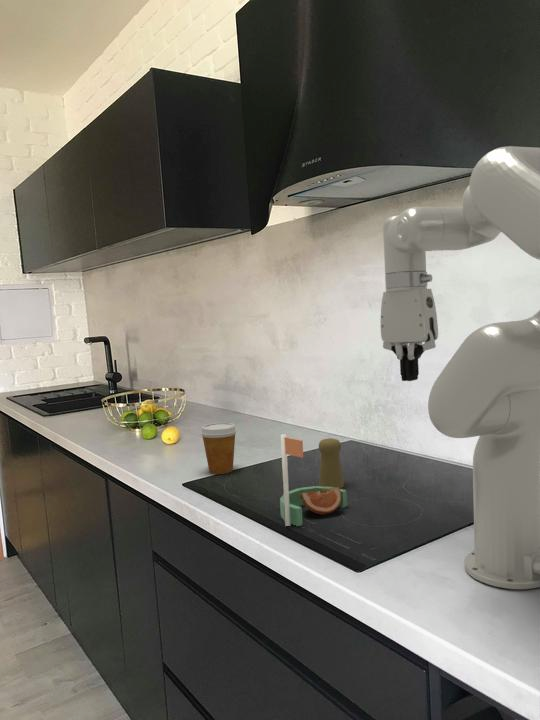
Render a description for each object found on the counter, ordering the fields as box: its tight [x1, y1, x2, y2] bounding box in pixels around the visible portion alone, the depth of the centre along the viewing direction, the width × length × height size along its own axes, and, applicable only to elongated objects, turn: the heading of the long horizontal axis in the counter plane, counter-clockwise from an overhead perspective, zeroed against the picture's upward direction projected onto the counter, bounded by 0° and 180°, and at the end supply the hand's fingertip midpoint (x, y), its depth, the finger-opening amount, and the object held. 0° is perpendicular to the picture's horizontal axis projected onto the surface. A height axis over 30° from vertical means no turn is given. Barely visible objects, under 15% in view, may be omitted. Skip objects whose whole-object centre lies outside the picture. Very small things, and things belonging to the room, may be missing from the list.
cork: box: [318, 437, 345, 489], centre depth 137 cm, size 6×6×11 cm
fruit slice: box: [301, 487, 341, 516], centre depth 120 cm, size 8×7×5 cm
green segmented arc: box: [279, 433, 348, 527], centre depth 119 cm, size 12×16×18 cm
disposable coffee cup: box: [200, 422, 238, 475], centre depth 154 cm, size 10×10×12 cm
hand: (409, 380), depth 111 cm, fingers closed
